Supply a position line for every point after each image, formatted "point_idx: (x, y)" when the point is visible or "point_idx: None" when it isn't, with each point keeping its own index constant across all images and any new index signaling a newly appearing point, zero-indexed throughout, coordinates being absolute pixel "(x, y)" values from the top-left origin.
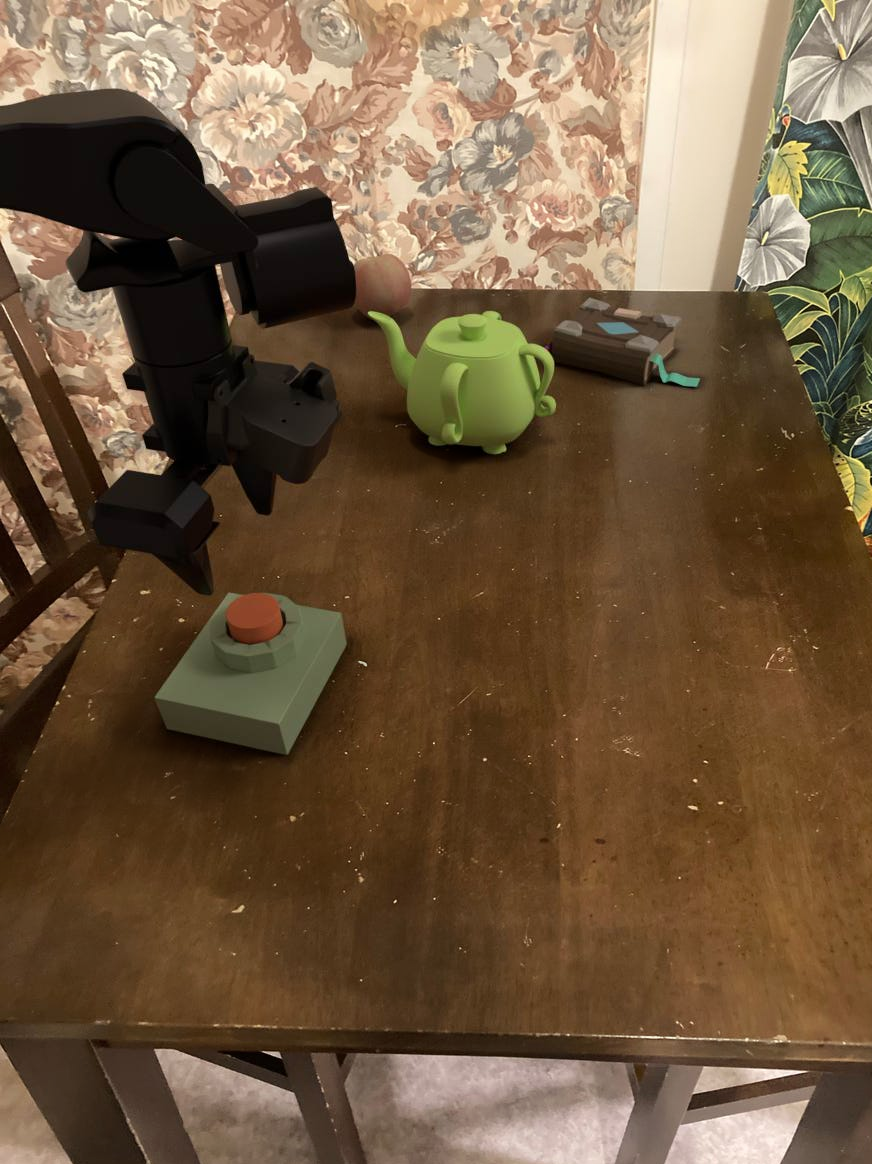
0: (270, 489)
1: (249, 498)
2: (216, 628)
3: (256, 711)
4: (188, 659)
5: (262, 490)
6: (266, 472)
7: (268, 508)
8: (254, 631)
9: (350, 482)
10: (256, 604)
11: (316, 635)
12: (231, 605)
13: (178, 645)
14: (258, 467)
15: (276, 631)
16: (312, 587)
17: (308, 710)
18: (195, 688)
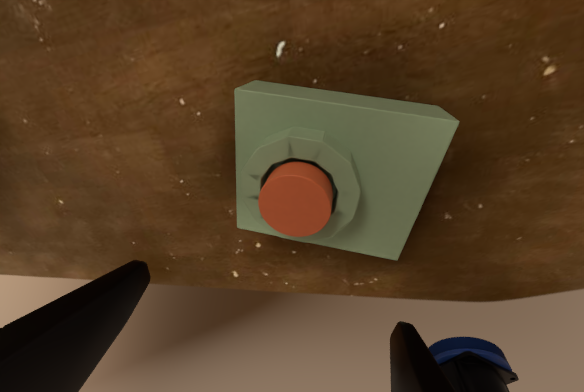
0: (79, 310)
1: (127, 317)
2: (313, 234)
3: (430, 156)
4: (341, 243)
5: (93, 319)
6: (23, 363)
7: (132, 275)
8: (329, 196)
9: (28, 143)
10: (282, 205)
11: (284, 113)
12: (289, 233)
13: (287, 241)
14: (19, 389)
15: (310, 166)
16: (182, 145)
17: (373, 98)
18: (385, 229)
